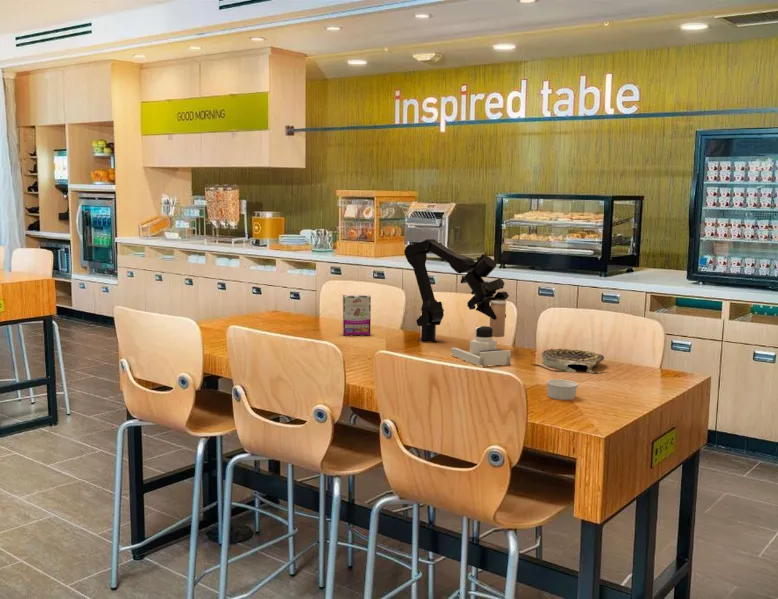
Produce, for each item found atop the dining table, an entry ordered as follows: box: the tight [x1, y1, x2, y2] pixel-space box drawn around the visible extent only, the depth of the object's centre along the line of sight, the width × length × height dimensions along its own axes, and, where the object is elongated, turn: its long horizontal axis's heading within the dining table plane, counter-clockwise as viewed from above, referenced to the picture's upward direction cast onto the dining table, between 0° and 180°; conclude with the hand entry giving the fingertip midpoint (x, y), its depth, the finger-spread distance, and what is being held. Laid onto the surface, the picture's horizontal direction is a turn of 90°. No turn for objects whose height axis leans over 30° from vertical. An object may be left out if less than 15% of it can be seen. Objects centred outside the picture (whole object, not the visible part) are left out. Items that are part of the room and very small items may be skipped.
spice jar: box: [489, 299, 507, 338], centre depth 288 cm, size 6×6×13 cm
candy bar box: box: [342, 294, 372, 337], centre depth 321 cm, size 11×5×16 cm, turn 99°
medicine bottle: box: [469, 325, 498, 356], centre depth 275 cm, size 7×7×12 cm
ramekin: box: [546, 378, 579, 401], centre depth 229 cm, size 9×9×4 cm
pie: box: [534, 348, 605, 374], centre depth 273 cm, size 28×27×5 cm
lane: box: [450, 347, 512, 368], centre depth 277 cm, size 20×12×5 cm, turn 25°
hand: (500, 318), depth 287 cm, fingers closed on spice jar, 5 cm apart
